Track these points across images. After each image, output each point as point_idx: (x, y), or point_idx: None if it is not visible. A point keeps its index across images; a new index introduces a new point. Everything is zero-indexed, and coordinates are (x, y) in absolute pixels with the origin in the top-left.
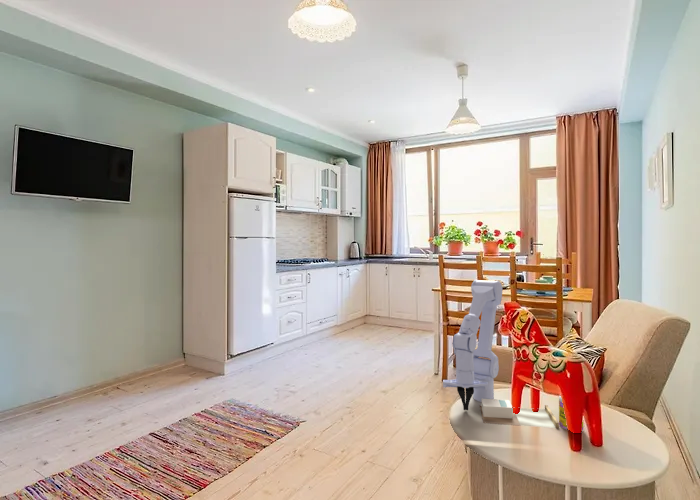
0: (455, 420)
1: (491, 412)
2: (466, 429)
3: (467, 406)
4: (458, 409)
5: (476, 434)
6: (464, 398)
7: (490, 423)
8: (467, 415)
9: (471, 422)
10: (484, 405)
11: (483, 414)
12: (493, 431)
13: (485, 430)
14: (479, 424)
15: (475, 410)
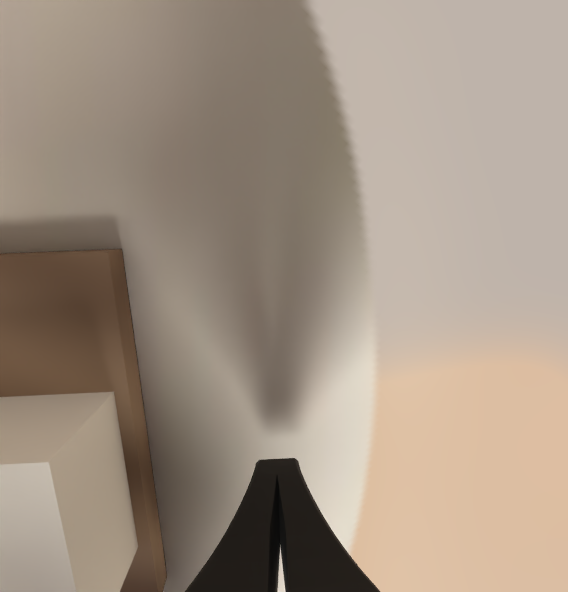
0: (368, 318)
1: (4, 420)
2: (276, 143)
3: (258, 482)
4: (333, 527)
5: (181, 44)
6: (296, 561)
7: (39, 253)
8: (263, 434)
9: (230, 305)
10: (36, 483)
11: (106, 409)
12: (25, 149)
13: (100, 157)
14: (159, 277)
15: (198, 535)
